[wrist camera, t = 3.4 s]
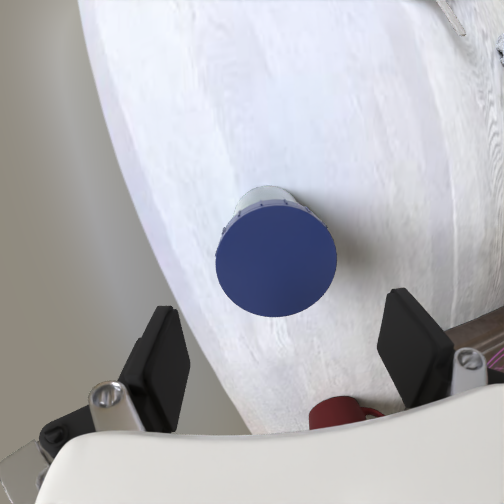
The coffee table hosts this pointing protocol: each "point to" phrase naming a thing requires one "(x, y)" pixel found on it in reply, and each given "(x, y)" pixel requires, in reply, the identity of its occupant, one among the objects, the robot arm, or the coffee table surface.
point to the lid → (275, 258)
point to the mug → (339, 413)
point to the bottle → (501, 46)
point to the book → (482, 338)
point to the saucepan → (451, 17)
